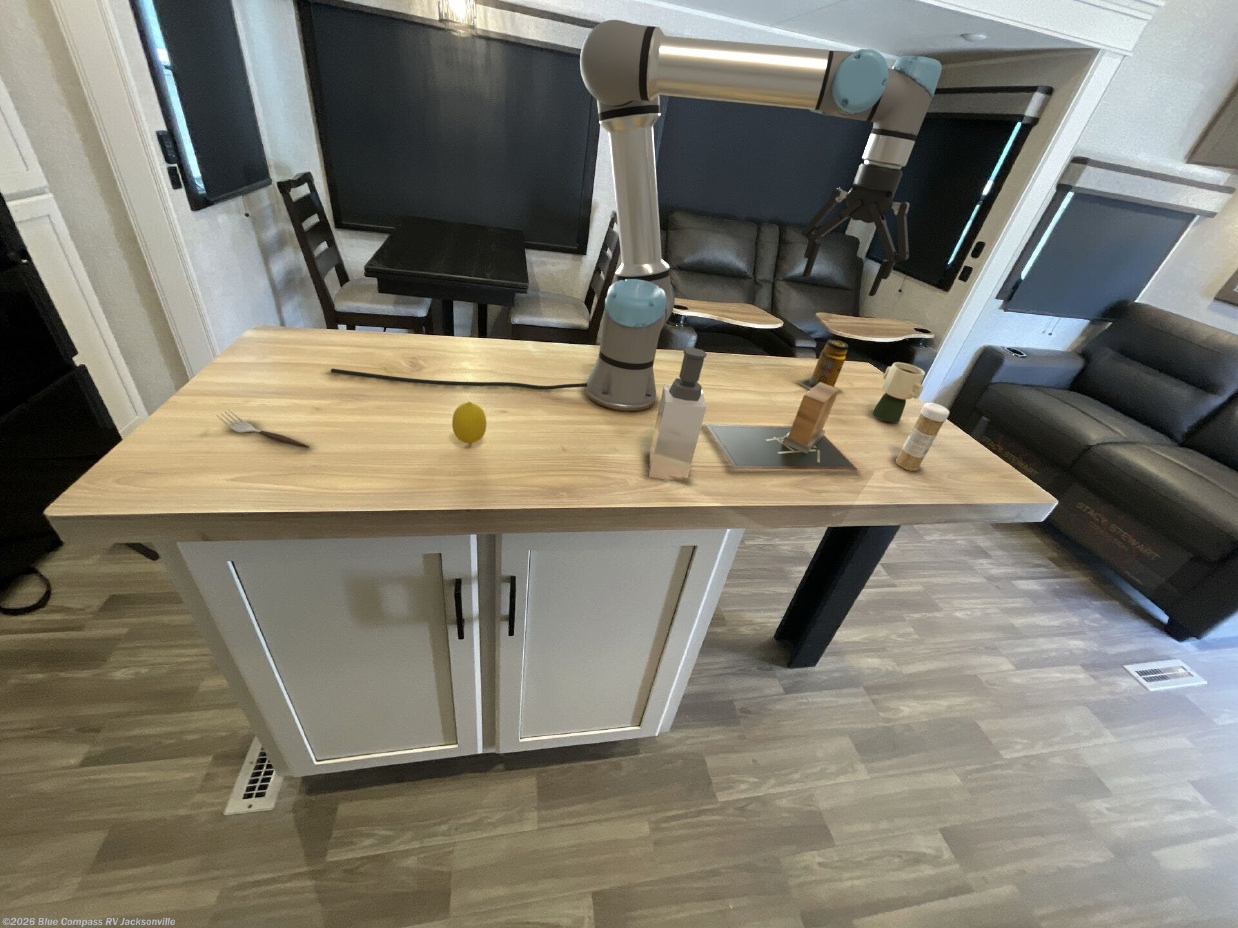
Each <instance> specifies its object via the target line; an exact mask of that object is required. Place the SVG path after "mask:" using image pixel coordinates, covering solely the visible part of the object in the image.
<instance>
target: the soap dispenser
mask: <svg viewBox="0 0 1238 928" xmlns="http://www.w3.org/2000/svg"><path fill="white" fill-rule="evenodd" d="M683 354H684V355H683V359H682V363H681V367H680V371H679V378H677V377H676V378H675V379H674V380H673V382H672V384H671V385H670V384H663V387H662V393H661V397H660V401H659V406H658V410H657V415H656V419H655V425H654V431H653V434H652V439H651V444H650V448H649V465H648V478H654V479H660V480H668V481H673V482H679V480H678V479H676V478H674V477H678V478H685V479H687V478H689V474H690V469H691V467H692V462H693V460H694V457H695V456H694V455H695V452H696V448H697V445H698V441H699V437H700V433H701V429H702V425H703V422H704V418H705V414H706V410H707V404H706V401H705V397H704V392H703V390H702V389H703V388H702V387H703V386H702V385H701V384H700V383H699V381H700V377H701V373H702V368H703V364H704V361H705V358H706V357H707V356H708V355H707V354H708V353H707V352H706V351H704V350H703V349H699V348H697V347H696V348H695V347H690V346H685V348H684V349H683Z"/></svg>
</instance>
